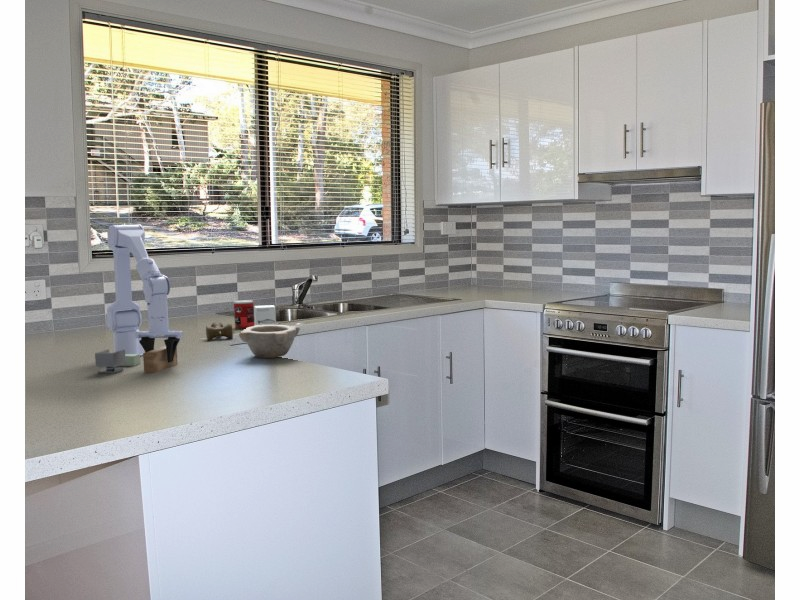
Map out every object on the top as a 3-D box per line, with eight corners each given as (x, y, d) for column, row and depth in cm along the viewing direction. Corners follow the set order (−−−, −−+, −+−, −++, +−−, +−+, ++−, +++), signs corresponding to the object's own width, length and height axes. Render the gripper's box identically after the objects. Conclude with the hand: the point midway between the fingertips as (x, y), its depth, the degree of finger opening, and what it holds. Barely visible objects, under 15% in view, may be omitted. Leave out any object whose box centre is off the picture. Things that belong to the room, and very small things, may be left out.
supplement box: (256, 342, 257) (255, 307, 256) (255, 339, 264) (253, 305, 263) (277, 341, 259) (275, 306, 258) (275, 337, 266) (273, 304, 265)
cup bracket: (108, 369, 215) (106, 349, 214) (126, 369, 214) (124, 349, 213) (96, 373, 209) (94, 353, 208) (114, 373, 208) (113, 353, 207)
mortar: (285, 361, 220) (284, 332, 219) (235, 360, 224) (233, 331, 223) (304, 351, 237) (303, 324, 236) (257, 350, 240) (256, 323, 239)
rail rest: (125, 363, 223) (125, 353, 223) (140, 363, 222) (139, 354, 222) (119, 365, 220) (118, 356, 220) (134, 365, 219) (133, 356, 219)
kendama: (230, 334, 281) (234, 340, 262) (204, 337, 278) (207, 343, 259) (228, 319, 281) (233, 324, 262) (203, 321, 278) (206, 327, 259)
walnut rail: (168, 364, 222) (167, 345, 221) (177, 364, 221) (176, 345, 220) (144, 373, 208) (143, 353, 207) (153, 373, 207) (152, 353, 207)
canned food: (234, 326, 298) (232, 300, 297) (253, 325, 301) (252, 299, 300) (235, 329, 291) (234, 302, 290) (255, 328, 293) (254, 301, 292)
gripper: (128, 318, 210) (131, 364, 212) (174, 318, 208) (176, 364, 209) (141, 315, 217) (144, 359, 219) (185, 315, 214) (188, 360, 216)
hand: (161, 361), depth 214 cm, fingers open, 6 cm apart
